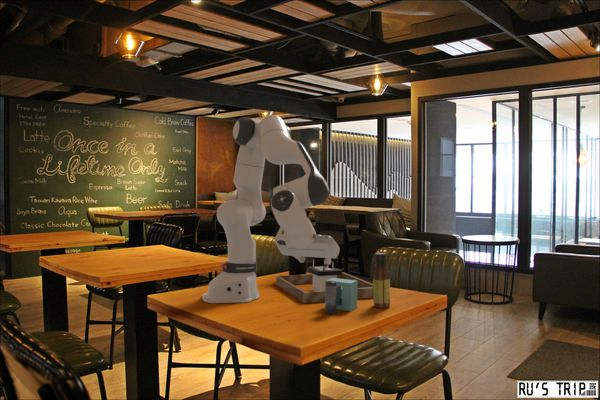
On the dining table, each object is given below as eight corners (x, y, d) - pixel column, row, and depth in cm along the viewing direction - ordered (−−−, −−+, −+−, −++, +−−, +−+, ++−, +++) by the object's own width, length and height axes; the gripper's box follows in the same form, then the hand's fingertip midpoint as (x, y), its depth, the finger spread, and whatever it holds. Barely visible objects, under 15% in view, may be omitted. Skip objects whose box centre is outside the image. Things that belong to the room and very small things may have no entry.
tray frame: (304, 303, 183) (304, 292, 183) (275, 285, 216) (276, 276, 216) (381, 297, 194) (381, 287, 194) (343, 280, 228) (343, 272, 228)
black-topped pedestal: (367, 297, 195) (368, 264, 195) (308, 302, 186) (308, 267, 186) (337, 284, 222) (338, 255, 221) (284, 287, 212) (284, 257, 212)
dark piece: (333, 315, 166) (333, 283, 166) (322, 313, 168) (323, 282, 168) (351, 305, 180) (351, 276, 179) (341, 304, 182) (341, 275, 181)
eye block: (350, 311, 172) (350, 283, 171) (325, 307, 177) (325, 280, 176) (357, 307, 177) (357, 280, 177) (332, 304, 182) (332, 277, 181)
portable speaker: (298, 283, 220) (298, 240, 219) (284, 280, 227) (284, 239, 226) (311, 281, 226) (311, 239, 225) (297, 278, 233) (297, 237, 232)
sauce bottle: (388, 304, 183) (389, 252, 182) (391, 308, 176) (392, 254, 176) (371, 304, 182) (371, 252, 182) (374, 308, 176) (374, 254, 176)
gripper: (334, 227, 146) (347, 256, 154) (277, 225, 156) (292, 252, 164) (328, 243, 142) (342, 272, 150) (269, 241, 152) (285, 267, 160)
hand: (315, 261), depth 157 cm, fingers open, 8 cm apart
